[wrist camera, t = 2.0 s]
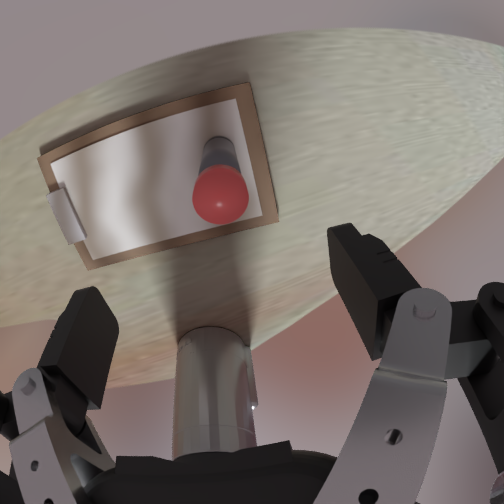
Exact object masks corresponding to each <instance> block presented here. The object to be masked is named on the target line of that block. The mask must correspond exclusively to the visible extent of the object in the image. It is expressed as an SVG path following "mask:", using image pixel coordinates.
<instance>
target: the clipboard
mask: <svg viewBox="0 0 504 504" xmlns="http://www.w3.org/2000/svg"><path fill="white" fill-rule="evenodd" d="M214 136H224V137H227V138H228V139H230V140H231V141H232V143H233V145H234V148H235V151H236V155H237V159H238V163H239V166H240V170H241V174H242V176H243V178H244V180H245V182H246V186H247V190H248V193H249V202H248V206H247V208H246V210H245V212H244V213H243V214H242V216H241V217H239V218H238V219H237V220H235V221H233V222H231V223H228V224H212V223H209V222H207V221H205V220H204V219H202V218H201V217H200V216H199V215H198V214H197V212H196V211H195V209H194V206H193V202H192V195H193V190H194V185H195V181H196V179H197V177H198V173H199V168H200V163H201V159H202V154H203V149H204V145H205V143H206V142H207V141H208V140H209V139H210V138H212V137H214ZM37 160H38V162H39V165H40V168H41V170H42V173H43V176H44V178H45V181H46V183H47V186H48V188H49V191H50V193H49V194H47V195H46V197H47V199H48V201H49V204H50V206H51V208H52V211H53V213H54V215H55V217H56V219H57V221H58V224H59V226H60V228H61V230H62V232H63V234H64V236H65V238H66V240H67V242H68V244H69V245H70V244H73V243H74V245H75V247H76V249H77V251H78V253H79V255H80V257H81V259H82V260H83V262H84V264H85V266H86V268H87V270H92V269H96V268H99V267H103V266H107V265H110V264H114V263H118V262H121V261H125V260H129V259H133V258H136V257H140V256H144V255H148V254H152V253H155V252H159V251H163V250H167V249H171V248H175V247H179V246H183V245H186V244H190V243H194V242H198V241H202V240H206V239H210V238H214V237H218V236H222V235H226V234H230V233H235V232H239V231H243V230H247V229H251V228H255V227H259V226H264V225H268V224H272V223H276V222H279V218H278V213H277V208H276V203H275V198H274V193H273V188H272V183H271V178H270V173H269V168H268V163H267V159H266V154H265V149H264V145H263V140H262V135H261V131H260V126H259V122H258V117H257V113H256V108H255V104H254V99H253V95H252V91H251V86H250V82H248V83H243V84H238V85H234V86H229V87H225V88H221V89H217V90H213V91H209V92H205V93H201V94H198V95H194V96H190V97H187V98H183V99H180V100H177V101H173V102H170V103H167V104H164V105H161V106H158V107H155V108H152V109H149V110H146V111H143V112H140V113H137V114H135V115H132V116H129V117H127V118H124V119H121V120H119V121H116V122H114V123H111V124H109V125H106V126H104V127H101V128H99V129H97V130H94V131H92V132H90V133H87V134H85V135H83V136H81V137H79V138H76V139H74V140H72V141H70V142H68V143H66V144H64V145H62V146H60V147H58V148H56V149H54V150H52V151H50V152H48V153H46V154H44V155H42V156H40V157H38V158H37Z"/></svg>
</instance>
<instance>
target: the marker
mask: <svg viewBox="0 0 504 504" xmlns="http://www.w3.org/2000/svg"><path fill="white" fill-rule="evenodd" d="M192 202H193V206H194V209H195V211H196V212H197V214H198V215H199V216H200V217H201V218H202V219H204V220H205V221H207V222H209V223H212V224H228V223H231V222H233V221H235V220H237V219H238V218H239V217H241V216H242V214H243V213H244V212H245V210H246V208H247V206H248V202H249V193H248V190H247V186H246V182H245V180H244V178H243V176H242V174H241V170H240V166H239V163H238V159H237V155H236V151H235V148H234V145H233V143H232V141H231V140H230V139H228V138H227V137H224V136H214V137H212V138H210V139H209V140H208V141H207V142H206V143H205V145H204V149H203V154H202V159H201V163H200V168H199V173H198V177H197V179H196V181H195V185H194V190H193V195H192Z"/></svg>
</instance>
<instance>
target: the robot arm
mask: <svg viewBox="0 0 504 504" xmlns="http://www.w3.org/2000/svg"><path fill="white" fill-rule="evenodd" d="M327 237H328V247H329V257H330V268H331V274H332V278H333V281H334V284H335V286H336V288H337V290H338V292H339V294H340V296H341V298H342V300H343V302H344V304H345V306H346V308H347V310H348V312H349V314H350V316H351V318H352V320H353V322H354V324H355V326H356V328H357V330H358V332H359V334H360V336H361V339H362V341H363V343H364V345H365V347H366V349H367V351H368V353H369V355H370V358H371V360H372V361H373V360H376V359H379V358H382V359H381V362H380V365H379V367H378V368H376V369H375V371H374V374H373V376H372V378H371V381H370V384H369V387H368V389H367V392H366V394H365V397H364V399H363V402H362V404H361V407H360V410H359V412H358V414H357V417H356V419H355V421H354V424H353V426H352V428H351V430H350V433H349V435H348V437H347V439H346V442H345V444H344V446H343V448H342V450H341V453H340V454H339V456H338V458H337V457H334V456H331V455H328V454H324V453H320V452H315V451H306V450H293V449H292V447H291V444H290V441H289V440H288V441H283V442H278V443H273V444H268V445H263V446H257V443H256V435H255V428H254V420H253V412H252V410H253V409H255V408H256V407H257V406H258V398H257V391H256V385H255V377H254V370H253V363H252V356H251V349H250V347H247V346H245V345H244V343H243V341H242V340H241V338H240V337H239V336H238V335H236V334H235V333H233V332H231V331H229V330H227V329H223V328H218V327H203V328H198V329H195V330H192V331H190V332H188V333H187V334H185V335H184V336H183V337H182V338H181V340H180V341H179V344H178V351H177V364H176V376H175V392H174V411H173V435H172V436H173V437H172V461H171V460H165V459H162V458H157V457H153V456H117V457H116V463H115V462H114V461H113V460H112V458H111V457H110V455H109V454H108V452H107V450H106V448H105V446H104V445H103V443H102V441H101V439H100V437H99V435H98V433H97V431H96V430H95V427H94V425H93V423H92V421H91V419H90V418H89V417H88V416H87V415H86V411H87V410H93V409H101V404H102V400H103V395H104V391H105V386H106V382H107V378H108V373H109V369H110V365H111V361H112V357H113V353H114V350H115V346H116V342H117V339H118V335H119V326H118V322H117V320H116V318H115V316H114V314H113V313H112V311H111V310H110V308H109V306H108V305H107V303H106V302H105V300H104V298H103V297H102V295H101V293H100V292H99V290H98V289H97V288H96V287H94V286H92V287H88V288H84V289H80V290H76V291H75V292H74V293H73V295H72V297H71V299H70V301H69V303H68V305H67V307H66V309H65V311H64V312H63V313H62V314H61V315H60V317H59V318H58V321H57V323H56V325H55V327H54V328H55V329H54V330H53V331H52V334H51V336H50V337H51V338H49V340H48V342H47V345H46V347H45V349H44V351H43V354H42V356H41V359H40V361H39V363H38V366H37V368H30V369H28V370H26V371H24V372H23V373H22V374H21V375H20V376H19V377H18V378H17V380H16V382H15V383H14V386H13V389H12V391H11V392H9V393H6V394H3V393H2V392H1V391H0V434H2V435H3V436H4V437H6V438H7V439H8V440H9V441H10V443H9V448H10V452H11V457H12V463H11V468H10V474H9V476H8V475H6V474H5V473H3V472H2V471H0V504H420V503H417V502H416V498H417V496H418V493H419V491H420V488H421V485H422V482H423V479H424V476H425V474H426V471H427V468H428V465H429V462H430V458H431V455H432V451H433V448H434V444H435V441H436V437H437V433H438V430H439V426H440V422H441V417H442V413H443V408H444V403H445V398H446V393H447V381H444V380H445V379H453V378H458V381H459V383H460V385H461V387H462V389H463V391H464V393H465V395H466V397H467V399H468V401H469V403H470V405H471V408H472V410H473V412H474V414H475V416H476V419H477V421H478V423H479V425H480V428H481V430H482V432H483V435H484V437H485V439H486V442H487V444H488V447H489V450H490V452H491V455H492V457H493V460H494V463H495V465H496V468H497V471H498V474H499V476H498V477H497V478H496V480H495V482H494V484H493V486H492V489H491V495H490V503H491V504H504V283H500V282H491V283H487V284H485V285H484V286H483V287H482V288H481V289H480V291H479V294H478V297H477V300H469V301H458V302H449V300H448V299H447V298H446V297H445V296H444V295H443V294H441V293H440V292H438V291H436V290H433V289H429V288H422V287H421V286H420V285H419V284H418V283H417V281H416V280H415V279H414V278H413V276H412V275H411V274H410V273H409V271H408V270H407V269H406V268H405V267H404V265H403V264H402V263H401V262H400V261H399V260H397V257H396V256H395V255H394V253H393V252H391V251H390V249H389V248H388V247H387V245H386V244H385V243H384V242H383V241H382V240H380V239H379V238H377V237H375V236H373V235H371V234H366V235H361V234H360V233H359V232H358V230H357V229H356V228H355V227H354V226H353V224H352V223H346V224H342V225H338V226H334V227H330V228H328V229H327ZM500 359H501V360H500Z"/></svg>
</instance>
